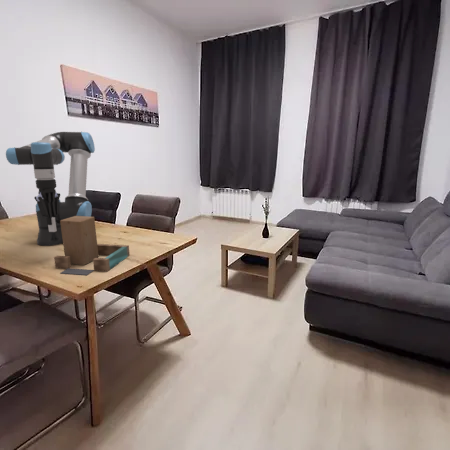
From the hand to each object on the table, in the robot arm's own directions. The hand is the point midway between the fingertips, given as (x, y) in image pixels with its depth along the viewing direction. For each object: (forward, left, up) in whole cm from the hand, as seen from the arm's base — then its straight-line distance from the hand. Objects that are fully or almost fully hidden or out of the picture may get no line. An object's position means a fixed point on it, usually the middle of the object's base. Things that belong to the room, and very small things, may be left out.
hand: (52, 231), depth 131 cm
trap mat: (+19, -12, -14) cm, 26 cm away
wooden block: (+13, 0, -14) cm, 19 cm away
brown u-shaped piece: (+18, 0, -14) cm, 22 cm away
